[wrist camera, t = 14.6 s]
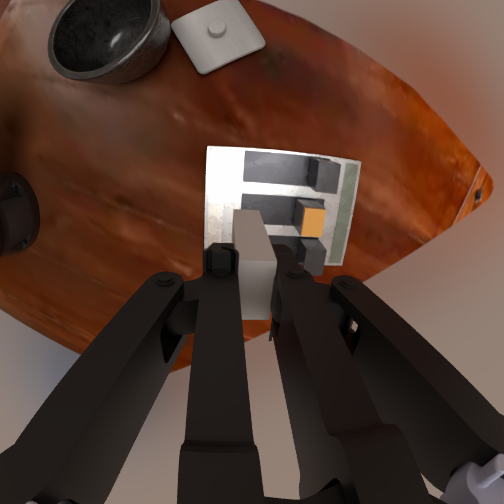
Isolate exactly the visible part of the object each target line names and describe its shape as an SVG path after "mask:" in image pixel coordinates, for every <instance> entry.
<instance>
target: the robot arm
mask: <svg viewBox="0 0 504 504" xmlns="http://www.w3.org/2000/svg"><path fill="white" fill-rule="evenodd" d="M38 230H39V209H38V204H37V200H36V197H35V195H34V192H33V190H32V189H31V187H30V185H29V184H28V182H27V181H26V180H25V179H24V178H23V177H21V176H20V175H18V174H16V173H5V174H3V175H0V257H3V256H7V255H12V254H16V253H20V252H22V251H24V250H25V249H26V248H28V247H29V246H30V245H31V244H32V243H33V242H34V240H35V239H36V236H37V234H38ZM270 312H271V313H272V322H271V329H270V335H269V341H272V337H273V340H274V345H275V350H276V355H277V360H278V365H279V369H280V374H281V379H282V384H283V389H284V394H285V399H286V404H287V409H288V414H289V419H290V424H291V429H292V434H293V439H294V444H295V449H296V454H297V459H298V464H299V469H300V483H299V495H300V500H291V499H281V498H272V497H264V492H263V484H262V476H261V467H260V460H259V453H258V449H257V446H256V445H255V444H254V439H253V432H252V422H251V412H250V402H249V392H248V381H247V372H246V361H245V349H244V337H243V326H242V320H269V319H270ZM353 321H355V322H356V323H357V324H358V327H357V330H356V332H355V331H354V330H353V329H352V328H351V327H352V324H353ZM191 333H195V335H194V344H193V353H192V362H191V372H190V382H189V392H188V404H187V417H186V430H185V440H184V443H183V444H182V445H181V449H180V456H179V470H178V491H177V492H178V493H177V504H504V416H503V415H502V414H500V413H498V411H497V410H496V409H495V408H494V407H493V406H492V405H491V404H490V403H489V402H488V401H487V400H486V399H485V398H484V397H483V396H482V394H481V393H479V391H478V390H477V389H475V387H474V386H473V385H472V384H471V383H470V382H469V381H468V380H467V379H466V378H465V377H464V376H463V375H462V374H461V373H460V372H459V371H458V370H457V369H456V368H455V367H454V366H453V365H452V364H451V363H450V362H448V360H447V359H446V358H444V357H443V356H442V355H441V354H440V353H439V352H438V351H437V350H436V349H435V348H434V347H433V346H432V345H431V344H430V343H429V342H428V341H427V340H425V339H424V338H423V337H422V336H421V335H420V334H419V333H418V332H417V331H416V330H415V329H414V328H413V327H412V326H410V325H409V324H408V323H407V322H406V321H405V320H404V319H403V318H401V317H400V316H399V315H398V314H397V313H396V312H395V311H394V310H393V309H392V308H390V307H389V306H388V305H387V304H386V303H385V302H384V301H383V300H381V299H380V298H379V297H378V296H376V294H375V293H373V292H372V291H371V290H370V289H369V288H368V287H366V286H365V285H364V284H363V283H362V282H361V281H359V280H357V279H356V278H353V277H352V276H347V275H341V276H336V277H334V278H333V279H332V282H331V285H328V284H323V283H318V282H315V280H314V278H313V277H312V275H311V274H310V272H309V271H307V270H305V269H303V268H300V266H299V264H298V262H297V260H296V259H295V256H294V255H293V252H292V250H291V248H289V247H288V246H287V245H285V244H271V242H270V240H269V237H268V234H267V231H266V228H265V226H264V223H263V220H262V217H261V214H260V212H259V210H241V209H233V224H232V243H217V242H213V243H212V244H211V245H210V246H209V247H208V248H206V249H205V250H204V251H203V275H202V276H201V277H200V278H198V279H195V280H191V281H186V282H183V278H182V276H180V275H179V274H177V273H173V272H159V273H157V274H154V275H152V276H151V277H149V278H148V280H147V281H146V282H145V283H144V284H143V285H142V286H141V287H140V288H139V289H138V290H137V291H136V293H135V294H134V295H133V296H132V297H131V298H130V299H129V300H128V301H127V302H126V304H125V305H124V306H123V307H122V308H121V309H120V310H119V311H118V313H117V314H116V315H115V316H114V317H113V318H112V319H111V320H110V322H109V323H108V324H107V325H106V326H105V327H104V329H103V330H102V331H101V332H100V333H99V334H98V336H97V337H96V338H95V339H94V340H93V341H92V343H91V344H90V345H89V346H88V347H87V349H86V350H85V351H84V352H83V353H82V355H81V356H80V357H79V358H78V360H77V361H76V362H75V363H74V364H73V366H72V367H71V368H70V369H69V371H68V372H67V373H66V375H65V376H64V377H63V378H62V379H61V381H60V382H59V383H58V385H57V386H56V387H55V388H54V390H53V391H52V392H51V394H50V395H49V396H48V398H47V399H46V400H45V402H44V403H43V404H42V406H41V407H40V409H39V410H38V411H37V413H36V414H35V415H34V417H33V418H32V419H31V421H30V422H29V424H28V425H27V427H26V428H25V429H24V431H23V432H22V434H21V435H20V436H19V438H18V439H17V441H16V442H15V444H14V445H12V446H11V447H9V448H8V449H6V450H5V451H4V452H2V453H1V454H0V504H104V503H105V501H106V499H107V497H108V495H109V494H110V492H111V489H112V487H113V485H114V483H115V481H116V479H117V477H118V475H119V473H120V471H121V469H122V467H123V465H124V462H125V460H126V458H127V456H128V454H129V452H130V450H131V448H132V446H133V443H134V442H135V440H136V438H137V436H138V434H139V432H140V429H141V428H142V426H143V424H144V422H145V420H146V418H147V415H148V413H149V411H150V410H151V408H152V406H153V404H154V402H155V400H156V398H157V396H158V394H159V392H160V390H161V388H162V386H163V384H164V382H165V380H166V378H167V376H168V374H169V372H170V370H171V368H172V366H173V364H174V362H175V361H176V359H177V357H178V355H179V353H180V351H181V349H182V347H183V345H184V343H185V341H186V339H187V334H191ZM420 472H421V473H422V475H423V476H424V477H425V478H426V479H427V480H428V481H429V482H430V483H431V484H432V485H433V486H435V487H436V488H437V489H439V490H440V491H442V492H443V494H442V495H441V497H440V499H438V498H436V497H434V496H432V495H430V494H429V493H428V490H427V488H426V485H425V483H424V480H423V478H422V475H421V473H420Z"/></svg>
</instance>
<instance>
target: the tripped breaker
mask: <svg viewBox="0 0 504 504" xmlns="http://www.w3.org/2000/svg"><path fill="white" fill-rule="evenodd" d="M325 213H326V209H325V207H324V206H323V205H322V204H320V203H319V202H318V201H317V200H309V199H297V200H296V208H295V215H294V223H293V226H294V227H295V229H296V230H297V232H298V234H299V235H301V236H309V237H321V236H322V231H323V225H324V219H325Z"/></svg>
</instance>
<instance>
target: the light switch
mask: <svg viewBox="0 0 504 504" xmlns="http://www.w3.org/2000/svg"><path fill="white" fill-rule="evenodd" d="M171 28H172V30H173V31H174V33H175V35H176V36H177V38H178V39H179V41H180V43H181V44H182V46H183V48H184V49H185V51H186V52H187V54H188V56H189V57H190V59H191V61H192V62H193V64H194V66H195V67H196V69H197V71H198V72H199V73H200V74H207V73H209V72H211V71H213V70H215V69H217V68H219V67H221V66H223V65H225V64H228V63H230V62H232V61H234V60H236V59H239V58H241V57H243V56H245V55H248V54H250V53H252V52H255V51H257V50H260V49H262V48H263V47H264V46H265V40H264V39H263V37H262V35H261V34H260V32H259V31H258V29H257V28H256V26H255V25H254V23H253V21H252V20H251V18H250V17H249V15H248V14H247V13H246V11H245V10H244V8H243V7H242V5H241V4H240V2H239V1H238V0H219V1H216V2H213V3H211V4H209V5H206V6H204V7H202V8H200V9H197V10H195V11H193V12H191V13H189V14H187V15H185V16H183V17H181V18H179V19H177V20H175V21H173V22H172V24H171Z"/></svg>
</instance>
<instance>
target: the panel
mask: <svg viewBox="0 0 504 504" xmlns="http://www.w3.org/2000/svg"><path fill="white" fill-rule="evenodd" d="M360 167H361V161H358V160H354V159H347V158H341V157H335V156H328V155H321V154H313V153H305V152H296V151H287V150H277V149H265V148H251V147H234V146H207V162H206V188H205V232H204V250H205V249H206V248H208V247H209V246H210V245H211V244H212V243H213V242H217V243H232V224H233V209H241V210H259V212H260V214H261V217H262V220H263V223H264V226H265V228H266V231H267V234H268V237H269V240H270V242H271V244H285V245H287V246H288V247H289V248H291V250H292V252H293V255H294V256H295V259H296V260H297V262H298V264H299V266H300V268H303V269H305V270H307V271H309V272H310V274H311V275H322V273H323V268H324V265H342V263H343V258H344V254H345V249H346V245H347V240H348V235H349V231H350V226H351V220H352V215H353V210H354V204H355V199H356V193H357V187H358V180H359V174H360ZM297 199H309V200H317V201H318V202H319V203H320V204H322V205H323V206H324V207H325V209H326V213H325V219H324V225H323V231H322V236H321V237H309V236H301V235H299V234H298V232H297V230H296V229H295V227H294V226H293V223H294V215H295V208H296V200H297Z"/></svg>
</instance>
